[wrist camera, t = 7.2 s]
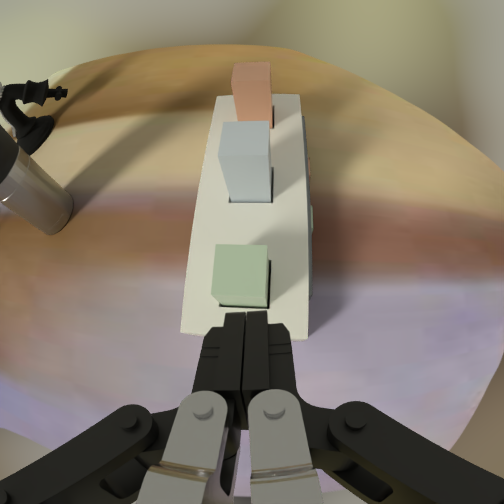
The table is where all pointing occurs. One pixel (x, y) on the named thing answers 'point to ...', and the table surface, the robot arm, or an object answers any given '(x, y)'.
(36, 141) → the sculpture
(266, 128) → the key grey
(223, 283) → the key sage
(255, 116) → the key terracotta
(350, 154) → the table surface
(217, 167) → the white flat bar
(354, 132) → the table surface
